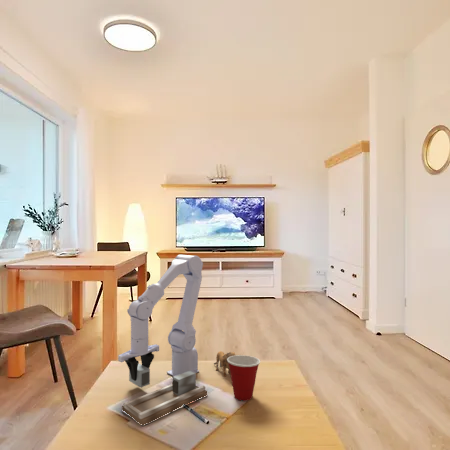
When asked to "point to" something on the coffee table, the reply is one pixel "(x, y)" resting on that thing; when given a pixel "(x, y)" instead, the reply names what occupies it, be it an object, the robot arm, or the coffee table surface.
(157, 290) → the robot arm
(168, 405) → the raised edge track
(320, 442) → the coffee table surface
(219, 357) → the lion figurine
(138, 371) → the gripped grey block
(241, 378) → the plastic cup
